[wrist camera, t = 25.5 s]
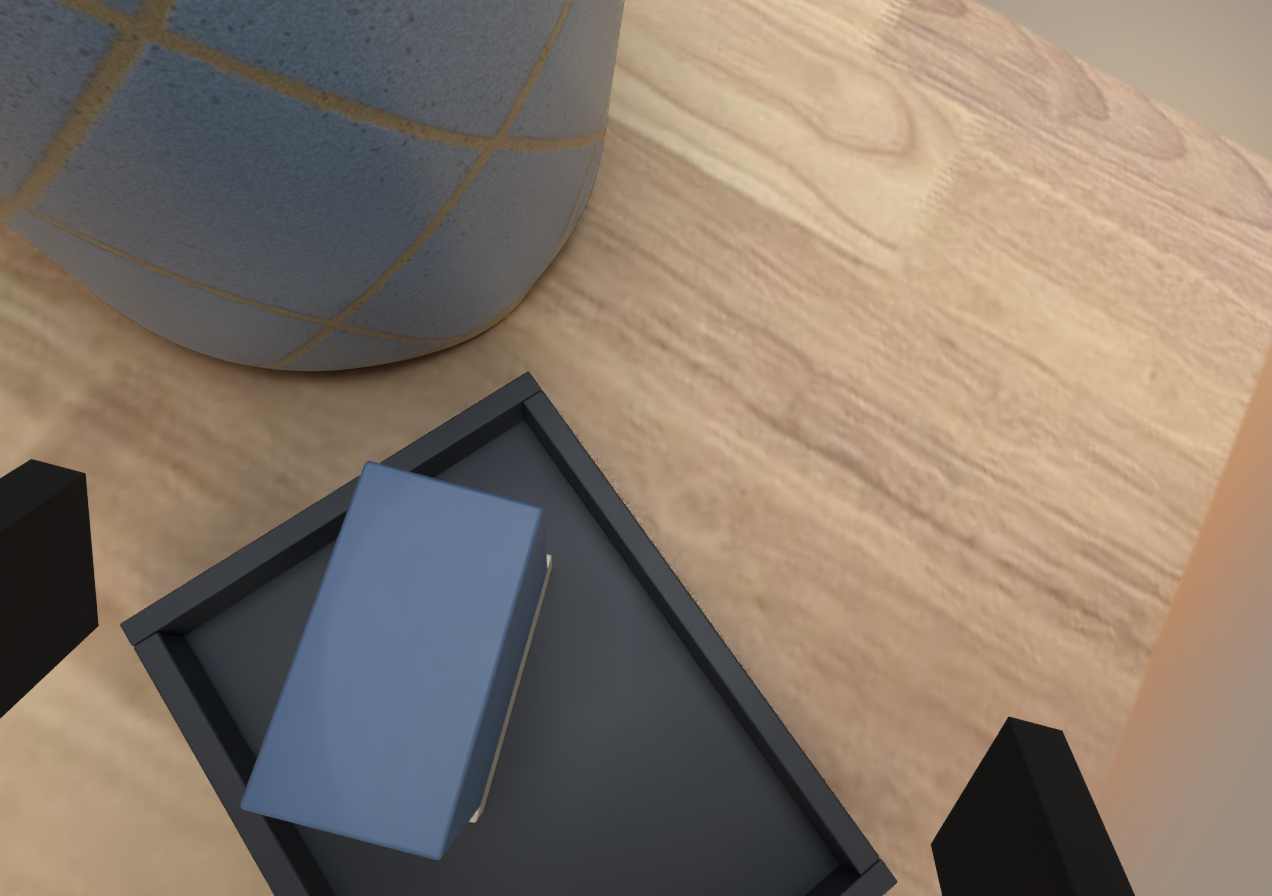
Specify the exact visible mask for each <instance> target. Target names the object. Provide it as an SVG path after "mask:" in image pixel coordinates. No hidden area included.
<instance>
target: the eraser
mask: <svg viewBox="0 0 1272 896" xmlns="http://www.w3.org/2000/svg"><path fill="white" fill-rule="evenodd" d="M551 570H552V557H551V555H549V554H546V542H545V528H544V515H543V508H541V507H540V506H536V505H533V504H529V503H525V502H521V501H518V500H514V499H510V498H506V497H503V496H499V495H495V494H491V493H488V492H484V491H480V490H476V489H473V488H469V487H465V486H461V485H458V484H454V483H450V482H446V481H443V480H439V479H435V478H431V477H428V476H424V475H420V474H416V473H413V472H409V471H405V470H401V469H398V468H394V467H390V466H386V465H383V464H379V463H375V462H371V461H368V462H366V463H365V464H364V467H363V470H362V472H361V475H360V478H359V481H358V483H357V486H356V489H355V492H354V494H353V497H352V500H351V503H350V505H349V508H348V511H347V514H346V516H345V519H344V522H343V525H342V527H341V530H340V533H339V535H338V538H337V541H336V544H335V546H334V549H333V552H332V555H331V557H330V560H329V563H328V566H327V568H326V571H325V574H324V577H323V579H322V582H321V585H320V588H319V590H318V593H317V596H316V598H315V601H314V604H313V607H312V609H311V612H310V615H309V618H308V620H307V623H306V626H305V629H304V631H303V634H302V637H301V640H300V642H299V645H298V648H297V651H296V653H295V656H294V659H293V661H292V664H291V667H290V670H289V672H288V675H287V678H286V681H285V683H284V686H283V689H282V692H281V694H280V697H279V700H278V703H277V705H276V708H275V711H274V713H273V716H272V719H271V722H270V724H269V727H268V730H267V733H266V735H265V738H264V741H263V744H262V746H261V749H260V752H259V755H258V757H257V760H256V763H255V766H254V768H253V771H252V774H251V776H250V779H249V782H248V785H247V787H246V790H245V793H244V796H243V798H242V801H241V808H242V809H243V810H246V811H250V812H254V813H258V814H261V815H265V816H269V817H273V818H277V819H281V820H284V821H288V822H292V823H296V824H300V825H304V826H307V827H311V828H315V829H319V830H323V831H326V832H330V833H334V834H338V835H342V836H346V837H349V838H353V839H357V840H361V841H365V842H369V843H372V844H376V845H380V846H384V847H388V848H391V849H395V850H399V851H403V852H407V853H411V854H414V855H418V856H422V857H426V858H430V859H434V860H440V859H441V858H442V856H443V855H444V854H445V852H446V851H447V850H448V848H449V847H450V846H451V844H452V843H453V842H454V840H455V839H456V838H457V836H458V835H459V834H460V832H461V831H462V830H463V829H464V827H465V826H466V825H467V823H468V822H472V823H475V822H476V821H477V820H478V818H479V817H480V815H481V814H482V812H483V810H484V807H485V803H486V800H487V796H488V793H489V789H490V785H491V782H492V778H493V775H494V771H495V768H496V764H497V761H498V757H499V754H500V750H501V747H502V743H503V740H504V736H505V732H506V729H507V725H508V722H509V718H510V715H511V711H512V708H513V704H514V701H515V697H516V694H517V690H518V687H519V683H520V679H521V676H522V672H523V669H524V665H525V662H526V658H527V655H528V651H529V648H530V644H531V641H532V637H533V634H534V630H535V626H536V623H537V619H538V616H539V612H540V609H541V605H542V602H543V598H544V595H545V591H546V588H547V584H548V581H549V577H550V573H551Z"/></svg>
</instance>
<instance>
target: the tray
mask: <svg viewBox="0 0 1272 896" xmlns="http://www.w3.org/2000/svg"><path fill="white" fill-rule="evenodd" d="M379 464H383V465H386V466H390V467H394V468H398V469H401V470H405V471H409V472H413V473H416V474H420V475H424V476H428V477H431V478H435V479H439V480H443V481H446V482H450V483H454V484H458V485H461V486H465V487H469V488H473V489H476V490H480V491H484V492H488V493H491V494H495V495H499V496H503V497H506V498H510V499H514V500H518V501H521V502H525V503H529V504H533V505H536V506H540V507H541V508H543V515H544V528H545V542H546V554H549V555H551V557H552V570H551V573H550V577H549V581H548V584H547V588H546V591H545V595H544V598H543V602H542V605H541V609H540V612H539V616H538V619H537V623H536V626H535V630H534V634H533V637H532V641H531V644H530V648H529V651H528V655H527V658H526V662H525V665H524V669H523V672H522V676H521V679H520V683H519V687H518V690H517V694H516V697H515V701H514V704H513V708H512V711H511V715H510V718H509V722H508V725H507V729H506V732H505V736H504V740H503V743H502V747H501V750H500V754H499V757H498V761H497V764H496V768H495V771H494V775H493V778H492V782H491V785H490V789H489V793H488V796H487V800H486V803H485V807H484V810H483V812H482V814H481V815H480V817H479V818H478V820H477V821H476V822H475V823H472V822H468V823H467V825H466V826H465V827H464V829H463V830H462V831H461V832H460V834H459V835H458V836H457V838H456V839H455V840H454V842H453V843H452V844H451V846H450V847H449V848H448V850H447V851H446V852H445V854H444V855H443V856H442V858H441V859H440V860H434V859H430V858H426V857H422V856H418V855H414V854H411V853H407V852H403V851H399V850H395V849H391V848H388V847H384V846H380V845H376V844H372V843H369V842H365V841H361V840H357V839H353V838H349V837H346V836H342V835H338V834H334V833H330V832H326V831H323V830H319V829H315V828H311V827H307V826H304V825H300V824H296V823H292V822H288V821H284V820H281V819H277V818H273V817H269V816H265V815H261V814H258V813H254V812H250V811H246V810H243V809H242V808H241V801H242V798H243V796H244V793H245V790H246V787H247V785H248V782H249V779H250V776H251V774H252V771H253V768H254V766H255V763H256V760H257V757H258V755H259V752H260V749H261V746H262V744H263V741H264V738H265V735H266V733H267V730H268V727H269V724H270V722H271V719H272V716H273V713H274V711H275V708H276V705H277V703H278V700H279V697H280V694H281V692H282V689H283V686H284V683H285V681H286V678H287V675H288V672H289V670H290V667H291V664H292V661H293V659H294V656H295V653H296V651H297V648H298V645H299V642H300V640H301V637H302V634H303V631H304V629H305V626H306V623H307V620H308V618H309V615H310V612H311V609H312V607H313V604H314V601H315V598H316V596H317V593H318V590H319V588H320V585H321V582H322V579H323V577H324V574H325V571H326V568H327V566H328V563H329V560H330V557H331V555H332V552H333V549H334V546H335V544H336V541H337V538H338V535H339V533H340V530H341V527H342V525H343V522H344V519H345V516H346V514H347V511H348V508H349V505H350V503H351V500H352V497H353V494H354V492H355V489H356V486H357V483H358V481H359V478H360V476H358V477H357V478H355V479H353V480H352V481H350V482H349V483H347V484H345V485H344V486H342V487H340V488H339V489H337V490H336V491H334V492H332V493H331V494H329V495H328V496H326V497H324V498H323V499H321V500H320V501H318V502H316V503H315V504H313V505H311V506H310V507H308V508H307V509H305V510H303V511H302V512H300V513H299V514H297V515H295V516H294V517H292V518H290V519H289V520H287V521H286V522H284V523H282V524H281V525H279V526H278V527H276V528H274V529H273V530H271V531H269V532H268V533H266V534H265V535H263V536H261V537H260V538H258V539H257V540H255V541H253V542H252V543H250V544H248V545H247V546H245V547H244V548H242V549H240V550H239V551H237V552H236V553H234V554H232V555H231V556H229V557H227V558H226V559H224V560H223V561H221V562H219V563H218V564H216V565H215V566H213V567H211V568H210V569H208V570H207V571H205V572H203V573H202V574H200V575H198V576H197V577H195V578H194V579H192V580H190V581H189V582H187V583H186V584H184V585H182V586H181V587H179V588H177V589H176V590H174V591H173V592H171V593H169V594H168V595H166V596H165V597H163V598H161V599H160V600H158V601H156V602H155V603H153V604H152V605H150V606H148V607H147V608H145V609H144V610H142V611H140V612H139V613H137V614H135V615H134V616H132V617H131V618H129V619H127V620H126V621H124V622H123V623H121V624H120V626H121V628H122V629H123V631H124V633H125V635H126V636H127V638H128V640H129V642H130V643H131V645H132V646H134V649H135V651H136V653H137V655H138V656H139V658H140V660H141V662H142V663H143V665H144V667H145V669H146V671H147V672H148V674H149V676H150V678H151V679H152V681H153V683H154V685H155V686H156V688H157V690H158V692H159V693H160V695H161V697H162V699H163V700H164V702H165V704H166V706H167V707H168V709H169V711H170V713H171V714H172V716H173V718H174V720H175V722H176V723H177V725H178V727H179V729H180V730H181V732H182V734H183V736H184V737H185V739H186V741H187V743H188V744H189V746H190V748H191V750H192V751H193V753H194V755H195V757H196V758H197V760H198V762H199V764H200V765H201V767H202V769H203V771H204V773H205V774H206V776H207V778H208V780H209V781H210V783H211V785H212V787H213V788H214V790H215V792H216V794H217V795H218V797H219V799H220V801H221V802H222V804H223V806H224V808H225V809H226V811H227V813H228V815H229V816H230V818H231V820H232V822H233V823H234V825H235V827H236V829H237V831H238V832H239V834H240V836H241V838H242V839H243V841H244V843H245V845H246V846H247V848H248V850H249V852H250V853H251V855H252V857H253V859H254V860H255V862H256V864H257V866H258V867H259V869H260V871H261V873H262V874H263V876H264V878H265V880H266V882H267V883H268V885H269V887H270V889H271V890H272V892H273V894H274V896H883V895H884V894H885V893H886V892H887V891H888V890H889V889H891V888H892V887H893V886H894V885H895V884H896V883H897V880H896V879H895V877H894V876H893V875H892V873H891V872H890V870H889V869H888V868H887V866H886V865H885V863H884V862H883V861H882V860H881V859H880V858H879V855H878V854H877V853H876V851H875V850H874V849H873V847H872V846H871V844H870V843H869V842H868V840H867V839H866V837H865V836H864V835H863V833H862V832H861V831H860V829H859V828H858V826H857V825H856V824H855V822H854V821H853V819H852V818H851V817H850V815H849V814H848V813H847V811H846V810H845V808H844V807H843V806H842V804H841V803H840V802H839V800H838V799H837V797H836V796H835V795H834V793H833V792H832V790H831V789H830V788H829V786H828V785H827V784H826V782H825V781H824V779H823V778H822V777H821V775H820V774H819V772H818V771H817V770H816V768H815V767H814V766H813V764H812V763H811V761H810V760H809V759H808V757H807V756H806V754H805V753H804V752H803V750H802V749H801V748H800V746H799V745H798V743H797V742H796V741H795V739H794V738H793V736H792V735H791V734H790V732H789V731H788V730H787V728H786V727H785V725H784V724H783V723H782V721H781V720H780V718H779V717H778V716H777V714H776V713H775V712H774V710H773V709H772V707H771V706H770V705H769V703H768V702H767V700H766V699H765V698H764V696H763V695H762V694H761V692H760V691H759V689H758V688H757V687H756V685H755V684H754V682H753V681H752V680H751V678H750V677H749V676H748V674H747V673H746V671H745V670H744V669H743V667H742V666H741V664H740V663H739V662H738V660H737V659H736V658H735V656H734V655H733V653H732V652H731V651H730V649H729V648H728V647H727V645H726V644H725V642H724V641H723V640H722V638H721V637H720V635H719V634H718V633H717V631H716V630H715V629H714V627H713V626H712V624H711V623H710V622H709V620H708V619H707V617H706V616H705V615H704V613H703V612H702V611H701V609H700V608H699V606H698V605H697V604H696V602H695V601H694V599H693V598H692V597H691V595H690V594H689V593H688V591H687V590H686V588H685V587H684V586H683V584H682V583H681V581H680V580H679V579H678V577H677V576H676V575H675V573H674V572H673V570H672V569H671V568H670V566H669V565H668V563H667V562H666V561H665V559H664V558H663V557H662V555H661V554H660V552H659V551H658V550H657V548H656V547H655V545H654V544H653V543H652V541H651V540H650V539H649V537H648V536H647V534H646V533H645V532H644V530H643V529H642V527H641V526H640V525H639V523H638V522H637V521H636V519H635V518H634V516H633V515H632V514H631V512H630V511H629V509H628V508H627V507H626V505H625V504H624V503H623V501H622V500H621V498H620V497H619V496H618V494H617V493H616V492H615V490H614V489H613V487H612V486H611V485H610V483H609V482H608V480H607V479H606V478H605V476H604V475H603V474H602V472H601V471H600V469H599V468H598V467H597V465H596V464H595V462H594V461H593V460H592V458H591V457H590V456H589V454H588V453H587V451H586V450H585V449H584V447H583V446H582V444H581V443H580V442H579V440H578V439H577V438H576V436H575V435H574V433H573V432H572V431H571V429H570V428H569V426H568V425H567V424H566V422H565V421H564V420H563V418H562V417H561V415H560V414H559V413H558V411H557V410H556V408H555V407H554V406H553V404H552V403H551V402H550V400H549V399H548V397H547V396H546V395H545V393H544V392H543V391H542V390H541V387H540V386H539V385H538V383H537V382H536V381H535V379H534V378H533V376H532V375H531V374H530V372H526V373H525V374H523V375H521V376H520V377H518V378H516V379H515V380H513V381H512V382H510V383H508V384H507V385H505V386H504V387H502V388H500V389H499V390H497V391H495V392H494V393H492V394H491V395H489V396H487V397H486V398H484V399H483V400H481V401H479V402H478V403H476V404H474V405H473V406H471V407H470V408H468V409H466V410H465V411H463V412H462V413H460V414H458V415H457V416H455V417H453V418H452V419H450V420H449V421H447V422H445V423H444V424H442V425H441V426H439V427H437V428H436V429H434V430H433V431H431V432H429V433H428V434H426V435H424V436H423V437H421V438H420V439H418V440H416V441H415V442H413V443H412V444H410V445H408V446H407V447H405V448H403V449H402V450H400V451H399V452H397V453H395V454H394V455H392V456H391V457H389V458H387V459H386V460H384V461H382V462H381V463H379Z"/></svg>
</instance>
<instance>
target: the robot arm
mask: <svg viewBox="0 0 1272 896" xmlns="http://www.w3.org/2000/svg"><path fill="white" fill-rule="evenodd" d="M98 626H99V625H98V614H97V602H96V590H95V578H94V567H93V555H92V543H91V531H90V520H89V508H88V496H87V484H86V473H82V472H79V471H75V470H71V469H67V468H63V467H60V466H56V465H52V464H48V463H44V462H41V461H37V460H33V459H31V460H29V461H27V462H26V463H24V464H23V465H21V466H19V467H18V468H16V469H15V470H13V471H11V472H10V473H8V474H7V475H5V476H3V477H2V478H0V718H1V717H2V716H4V715H5V714H6V713H7V712H8V711H9V710H10V709H11V708H12V707H13V706H14V705H15V704H16V703H17V702H18V701H19V700H20V699H22V698H23V697H24V696H25V695H26V694H27V693H28V692H29V691H30V690H31V689H32V688H33V687H34V686H35V685H36V684H37V683H39V682H40V681H41V680H42V679H43V678H44V677H45V676H46V675H47V674H48V673H49V672H50V671H51V670H52V669H53V668H54V667H55V666H57V665H58V664H59V663H60V662H61V661H62V660H63V659H64V658H65V657H66V656H67V655H68V654H69V653H70V652H71V651H72V650H73V649H75V648H76V647H77V646H78V645H79V644H80V643H81V642H82V641H83V640H84V639H85V638H86V637H87V636H88V635H89V634H90V633H91V632H93V631H94V630H95V629H96V628H97V627H98ZM931 847H932V852H933V856H934V861H935V865H936V870H937V874H938V879H939V883H940V888H941V892H942V896H1135V894H1134V892H1133V890H1132V888H1131V886H1130V883H1129V881H1128V879H1127V876H1126V874H1125V872H1124V869H1123V867H1122V865H1121V863H1120V861H1119V858H1118V856H1117V854H1116V851H1115V849H1114V847H1113V845H1112V842H1111V840H1110V838H1109V835H1108V833H1107V831H1106V829H1105V826H1104V824H1103V822H1102V820H1101V817H1100V815H1099V813H1098V811H1097V808H1096V806H1095V804H1094V801H1093V799H1092V797H1091V795H1090V792H1089V790H1088V788H1087V786H1086V783H1085V781H1084V779H1083V777H1082V774H1081V772H1080V770H1079V768H1078V765H1077V763H1076V761H1075V758H1074V756H1073V754H1072V752H1071V749H1070V747H1069V745H1068V743H1067V740H1066V738H1065V736H1064V734H1063V731H1062V730H1058V729H1054V728H1050V727H1046V726H1043V725H1039V724H1035V723H1031V722H1028V721H1024V720H1020V719H1016V718H1012V717H1008V719H1007V720H1006V722H1005V723H1004V725H1003V727H1002V728H1001V730H1000V732H999V733H998V735H997V737H996V738H995V740H994V741H993V743H992V745H991V746H990V748H989V750H988V751H987V753H986V755H985V756H984V758H983V759H982V761H981V763H980V764H979V766H978V768H977V769H976V771H975V773H974V774H973V776H972V778H971V779H970V781H969V782H968V784H967V786H966V787H965V789H964V791H963V792H962V794H961V796H960V797H959V799H958V800H957V802H956V804H955V805H954V807H953V809H952V810H951V812H950V814H949V815H948V817H947V818H946V820H945V822H944V823H943V825H942V827H941V828H940V830H939V832H938V833H937V835H936V837H935V838H934V840H933V841H932V843H931Z"/></svg>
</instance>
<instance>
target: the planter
mask: <svg viewBox="0 0 1272 896" xmlns="http://www.w3.org/2000/svg"><path fill="white" fill-rule="evenodd" d="M624 1H625V0H0V221H1V222H3V223H4V224H5V225H6V226H8V227H9V228H10V229H12V230H13V231H14V232H16V233H17V234H18V235H20V236H21V237H22V238H23V239H25V240H26V241H27V242H29V243H30V244H31V245H33V246H34V247H35V248H37V249H38V250H39V251H40V252H42V253H43V254H44V255H46V256H47V257H48V258H49V259H51V260H52V261H53V262H54V263H56V264H57V265H58V266H60V267H61V268H62V269H63V270H65V271H66V272H67V273H68V274H70V275H71V276H72V277H73V278H75V279H76V280H77V281H79V282H80V283H81V284H82V285H84V286H85V287H86V288H87V289H89V290H90V291H91V292H92V293H94V294H95V295H96V296H97V297H99V298H100V299H101V300H103V301H104V302H105V303H107V304H108V305H110V306H111V307H113V308H114V309H116V310H117V311H119V312H120V313H121V314H123V315H124V316H126V317H128V318H129V319H131V320H132V321H134V322H135V323H137V324H139V325H141V326H142V327H144V328H146V329H148V330H149V331H151V332H153V333H155V334H157V335H159V336H161V337H163V338H165V339H167V340H170V341H172V342H174V343H176V344H178V345H180V346H183V347H185V348H188V349H191V350H194V351H196V352H199V353H202V354H204V355H208V356H211V357H215V358H218V359H222V360H225V361H229V362H234V363H238V364H243V365H248V366H253V367H261V368H268V369H275V370H291V371H330V370H344V369H354V368H361V367H369V366H376V365H381V364H387V363H392V362H398V361H402V360H406V359H411V358H415V357H419V356H423V355H426V354H430V353H434V352H437V351H440V350H443V349H446V348H449V347H452V346H455V345H457V344H460V343H462V342H464V341H466V340H469V339H471V338H473V337H475V336H477V335H479V334H480V333H482V332H484V331H486V330H488V329H489V328H491V327H492V326H494V325H495V324H497V323H499V322H500V321H501V320H502V319H504V318H505V317H506V316H507V315H509V314H510V313H511V312H512V311H513V310H514V309H515V308H516V307H517V305H518V304H519V303H520V302H521V301H522V300H523V298H524V297H525V296H526V294H527V293H528V292H529V290H530V289H531V288H532V286H533V285H534V284H535V283H536V281H537V280H538V279H539V278H540V276H541V275H542V274H543V272H544V271H545V270H546V269H547V267H548V266H549V265H550V263H551V262H552V261H553V259H554V258H555V257H556V255H557V254H558V253H559V251H560V250H561V248H562V247H563V245H564V244H565V242H566V241H567V239H568V238H569V236H570V235H571V233H572V231H573V229H574V228H575V226H576V224H577V222H578V221H579V219H580V216H581V214H582V212H583V210H584V208H585V205H586V203H587V201H588V198H589V196H590V193H591V190H592V187H593V184H594V182H595V179H596V175H597V171H598V167H599V163H600V159H601V154H602V150H603V144H604V137H605V131H606V123H607V116H608V109H609V101H610V94H611V86H612V79H613V73H614V66H615V60H616V53H617V47H618V40H619V34H620V27H621V21H622V14H623V8H624Z"/></svg>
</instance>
